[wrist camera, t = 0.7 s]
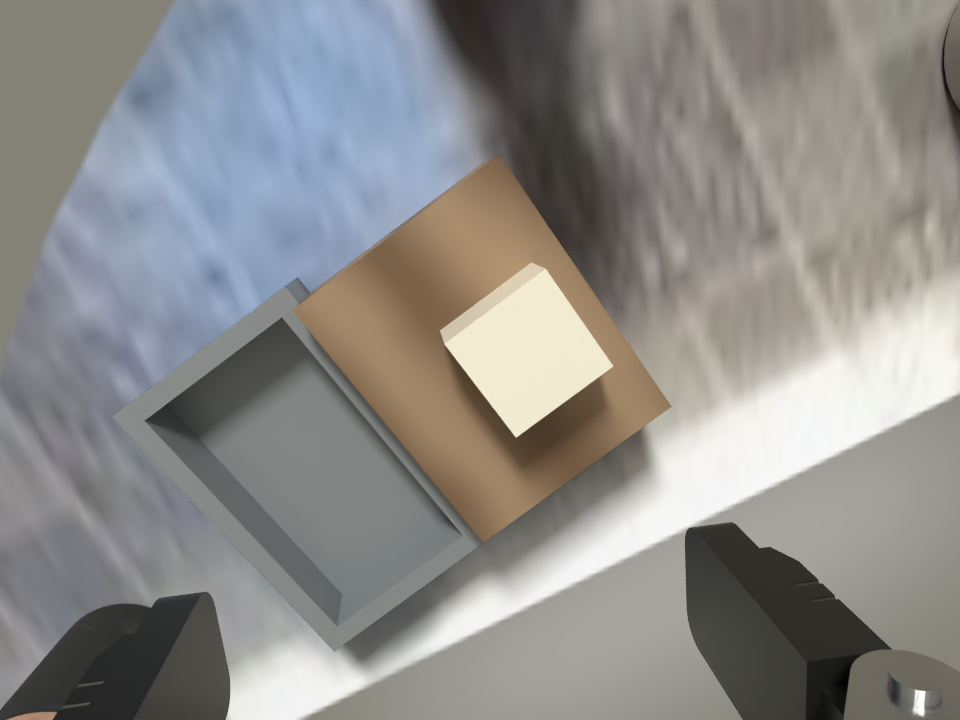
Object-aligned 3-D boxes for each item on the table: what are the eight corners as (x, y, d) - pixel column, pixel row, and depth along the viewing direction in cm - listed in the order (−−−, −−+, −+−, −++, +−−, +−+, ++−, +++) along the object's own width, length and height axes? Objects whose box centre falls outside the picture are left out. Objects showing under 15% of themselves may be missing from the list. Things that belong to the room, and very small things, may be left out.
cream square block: (531, 262, 30) (545, 268, 27) (593, 351, 31) (613, 366, 28) (439, 330, 30) (444, 344, 27) (505, 416, 31) (516, 437, 28)
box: (297, 277, 35) (284, 286, 31) (481, 504, 39) (490, 537, 35) (143, 393, 35) (112, 417, 31) (340, 607, 39) (334, 651, 35)
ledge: (482, 163, 35) (499, 154, 29) (629, 375, 38) (671, 406, 32) (310, 293, 35) (292, 310, 29) (470, 491, 38) (483, 542, 33)
